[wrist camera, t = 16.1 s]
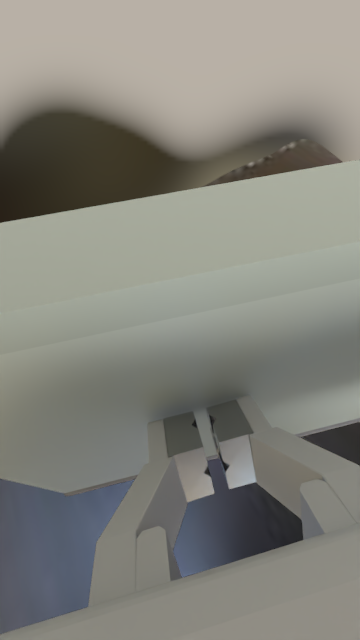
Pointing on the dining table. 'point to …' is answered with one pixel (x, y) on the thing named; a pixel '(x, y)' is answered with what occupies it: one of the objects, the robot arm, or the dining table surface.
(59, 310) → the cover
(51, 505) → the dining table surface
